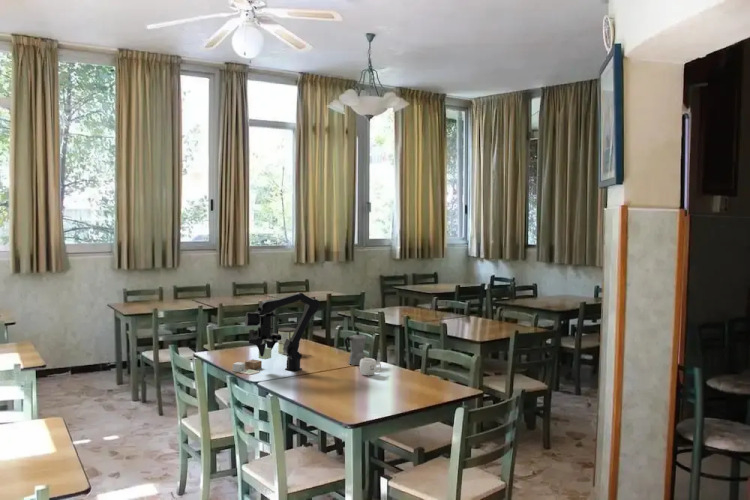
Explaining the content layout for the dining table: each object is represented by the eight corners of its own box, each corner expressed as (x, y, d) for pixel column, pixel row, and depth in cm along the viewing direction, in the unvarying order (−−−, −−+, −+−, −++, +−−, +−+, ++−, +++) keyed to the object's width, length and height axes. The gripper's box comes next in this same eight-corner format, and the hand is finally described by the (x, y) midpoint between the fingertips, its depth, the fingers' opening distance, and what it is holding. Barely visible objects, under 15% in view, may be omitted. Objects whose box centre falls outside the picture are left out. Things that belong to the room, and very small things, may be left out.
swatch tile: (259, 372, 328) (259, 371, 328) (249, 374, 322) (249, 373, 322) (249, 370, 332) (249, 369, 332) (239, 372, 326) (239, 371, 326)
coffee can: (280, 350, 383) (280, 326, 382) (297, 351, 382) (297, 327, 381) (275, 354, 373) (276, 329, 372) (293, 354, 372) (293, 330, 371)
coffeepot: (361, 361, 361) (361, 329, 360) (371, 364, 354) (372, 331, 353) (338, 364, 351) (339, 331, 350) (349, 367, 344) (350, 334, 343)
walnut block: (261, 368, 337) (261, 360, 337) (253, 370, 332) (254, 362, 332) (252, 366, 340) (252, 359, 340) (245, 368, 335) (245, 361, 335)
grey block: (245, 370, 331) (245, 363, 331) (240, 372, 327) (240, 364, 327) (237, 369, 333) (237, 362, 332) (232, 371, 328) (232, 363, 328)
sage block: (271, 357, 329) (271, 348, 329) (265, 359, 326) (265, 349, 325) (264, 356, 332) (264, 347, 332) (258, 358, 328) (258, 348, 328)
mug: (363, 377, 324) (364, 362, 324) (356, 373, 331) (356, 358, 331) (384, 375, 330) (385, 360, 329) (377, 371, 337) (377, 356, 337)
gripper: (266, 321, 340) (265, 350, 341) (241, 325, 324) (240, 356, 325) (282, 323, 334) (281, 353, 335) (257, 328, 318) (256, 359, 319)
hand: (265, 355), depth 329 cm, fingers closed on sage block, 4 cm apart
